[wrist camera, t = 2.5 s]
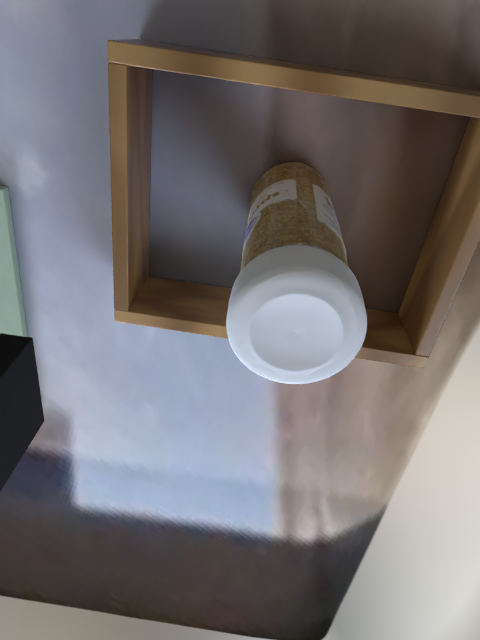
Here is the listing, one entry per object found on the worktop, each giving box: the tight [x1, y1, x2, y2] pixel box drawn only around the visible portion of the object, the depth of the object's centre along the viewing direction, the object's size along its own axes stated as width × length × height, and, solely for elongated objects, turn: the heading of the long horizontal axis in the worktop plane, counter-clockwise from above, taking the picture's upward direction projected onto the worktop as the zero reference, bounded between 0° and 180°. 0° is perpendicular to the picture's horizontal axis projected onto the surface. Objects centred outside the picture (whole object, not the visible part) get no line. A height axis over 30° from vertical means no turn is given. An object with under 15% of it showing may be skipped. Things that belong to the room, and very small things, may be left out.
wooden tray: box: [108, 39, 480, 368], centre depth 24 cm, size 18×14×4 cm
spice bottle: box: [226, 162, 367, 384], centre depth 20 cm, size 5×5×13 cm
